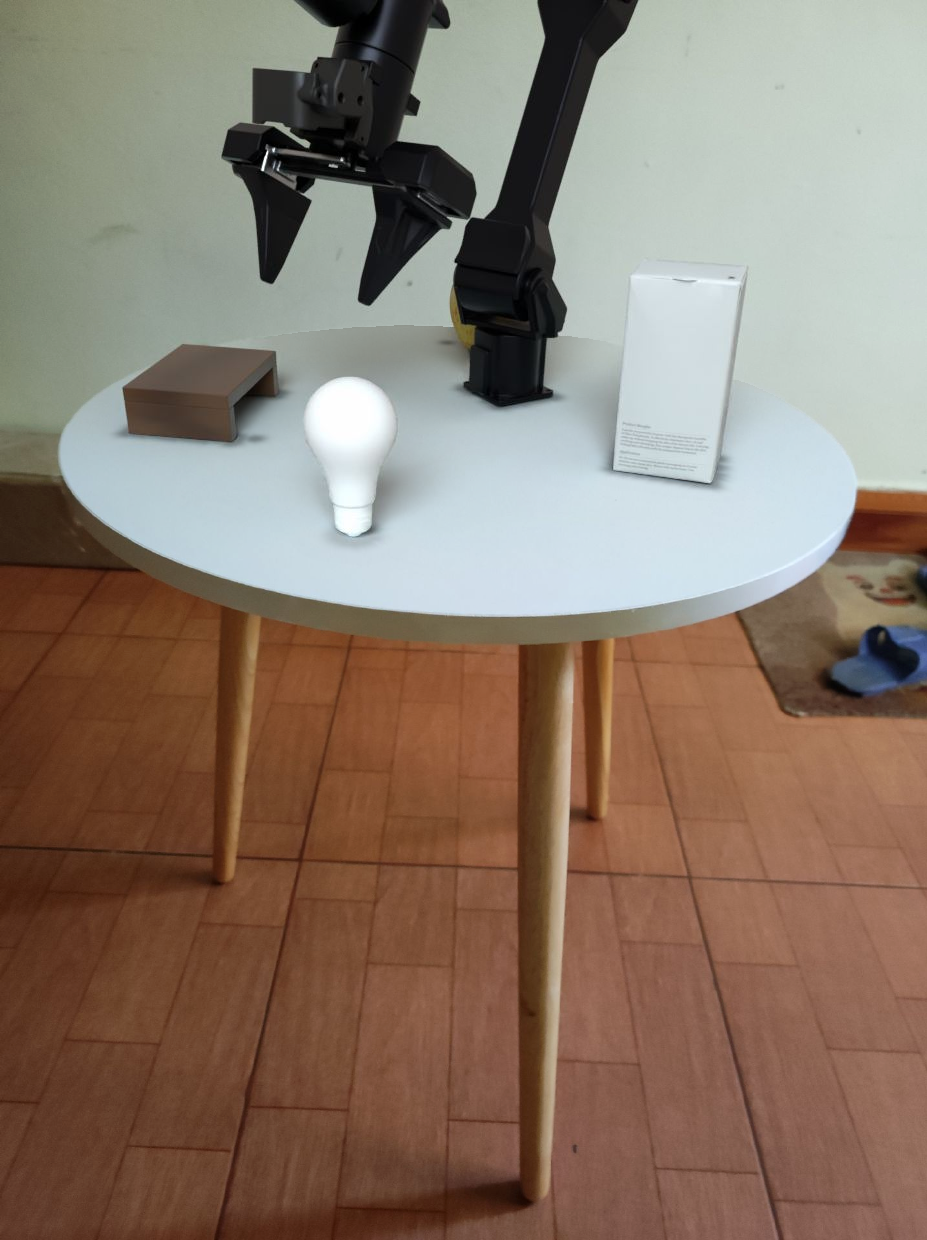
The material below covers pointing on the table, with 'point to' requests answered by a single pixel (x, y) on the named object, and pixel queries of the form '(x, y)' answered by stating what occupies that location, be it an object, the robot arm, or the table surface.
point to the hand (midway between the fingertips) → (313, 292)
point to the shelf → (198, 391)
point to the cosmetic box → (677, 367)
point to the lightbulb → (351, 445)
